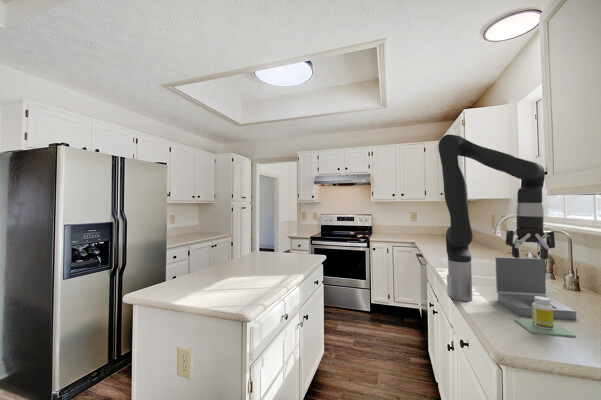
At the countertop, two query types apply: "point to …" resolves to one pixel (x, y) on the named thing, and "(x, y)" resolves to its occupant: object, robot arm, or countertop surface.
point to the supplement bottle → (542, 313)
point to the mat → (536, 330)
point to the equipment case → (525, 286)
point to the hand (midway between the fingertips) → (529, 258)
